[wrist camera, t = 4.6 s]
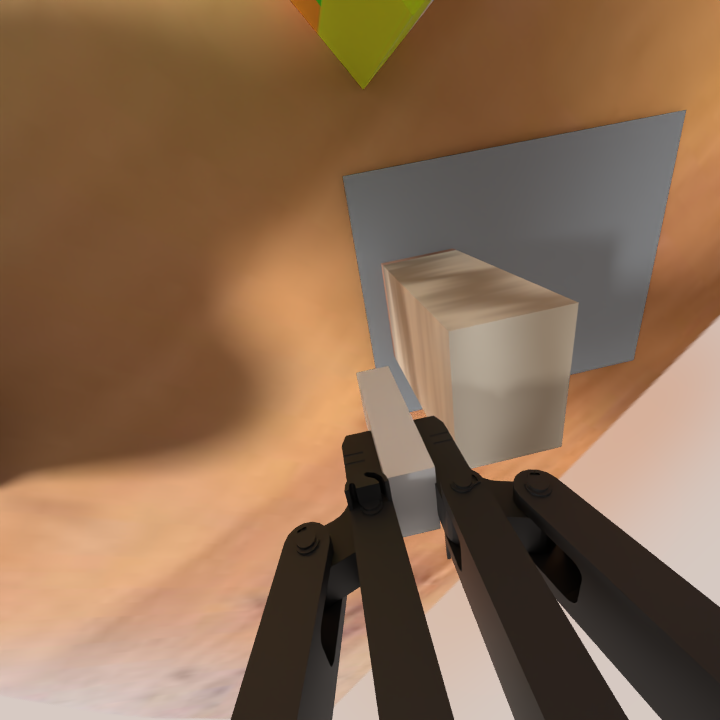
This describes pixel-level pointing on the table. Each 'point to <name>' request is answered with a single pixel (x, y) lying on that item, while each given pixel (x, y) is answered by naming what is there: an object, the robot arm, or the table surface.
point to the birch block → (482, 352)
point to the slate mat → (530, 225)
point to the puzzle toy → (362, 29)
